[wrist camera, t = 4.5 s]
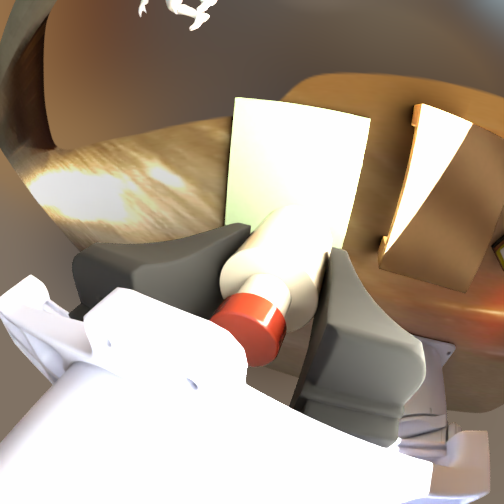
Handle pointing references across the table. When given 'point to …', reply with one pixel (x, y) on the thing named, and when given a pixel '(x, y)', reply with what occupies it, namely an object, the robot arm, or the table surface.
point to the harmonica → (499, 250)
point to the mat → (294, 162)
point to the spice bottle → (274, 281)
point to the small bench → (445, 201)
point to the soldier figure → (185, 10)
